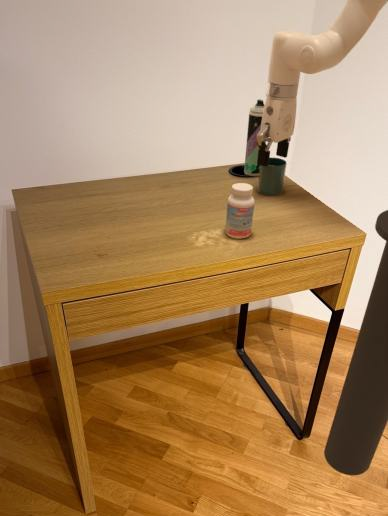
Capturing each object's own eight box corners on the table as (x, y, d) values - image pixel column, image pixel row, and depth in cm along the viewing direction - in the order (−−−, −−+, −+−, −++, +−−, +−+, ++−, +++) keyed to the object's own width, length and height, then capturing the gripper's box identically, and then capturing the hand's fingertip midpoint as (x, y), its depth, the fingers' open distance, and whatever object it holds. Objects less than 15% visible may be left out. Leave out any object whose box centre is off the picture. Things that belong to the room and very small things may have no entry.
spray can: (241, 170, 149) (247, 98, 136) (257, 169, 150) (265, 97, 138) (248, 177, 145) (255, 103, 132) (265, 175, 146) (273, 101, 134)
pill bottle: (229, 240, 113) (233, 192, 106) (222, 228, 117) (225, 182, 110) (254, 238, 114) (259, 191, 107) (246, 227, 118) (251, 180, 111)
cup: (274, 185, 140) (278, 156, 135) (286, 193, 135) (291, 164, 130) (253, 187, 138) (256, 158, 133) (264, 196, 133) (268, 167, 128)
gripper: (277, 99, 114) (267, 172, 125) (312, 87, 125) (300, 156, 135) (249, 93, 117) (242, 165, 128) (286, 82, 128) (276, 149, 139)
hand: (272, 160), depth 132 cm, fingers open, 9 cm apart
